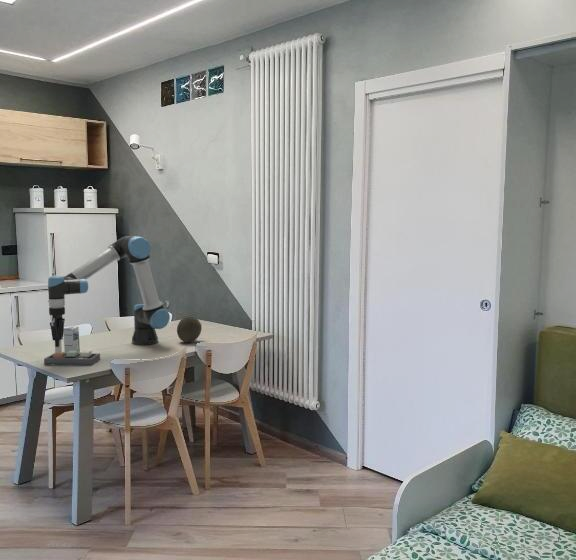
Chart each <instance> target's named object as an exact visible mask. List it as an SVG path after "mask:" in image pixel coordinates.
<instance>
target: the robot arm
mask: <svg viewBox="0 0 576 560" xmlns="http://www.w3.org/2000/svg"><path fill="white" fill-rule="evenodd" d="M151 251H152V247H151V244H150V242H149V241H148V239H147V238H145V237H142V236H140V235H136V236H135V235H125V236H123V237H120V238H119V239H117V240H116V241H114V242H113V243H112V244H110V245H108V247H107V249H105V250H104V251H102V252H101V253H99V254H98V255H96V256H95V257H93V258H92V259H91V258H90V260H88V261H86V262H85V263H84V264H83V265H81V266H79V267H77V268H76V269H74V270H73V271H71V272H70V273H68V274H66V275H65V276H64V275H63V276H61V275H58V276H56V275H55V276H49V277H48V281H47V288H48V289H47V290H48V301H47V302H48V314H49V316H51V322H49V327H50V331H51V338H52V341H54V353H61V352H63V351H62V340H64V333H63V332H64V328H65V320H66V319H65V318H63V315H64V316H65V314H66V307H65V305H66V301H65V299H66V296H65V295H75V294H76V295H77V294H86V293H88V290H89V282H88V280H87V279H90V278H91V277H93V276H94V275H96V274H97V273H98V272H101V271H102V270H104V268H106V267H108V266H109V265H111V264H112V263H114V262H115V261H120V260H121V259H124V258H127V259H128V263H129V264H130V265H132V266H133V267H132V268H133V269H134V270H133V271H134V274H135V277H136V278H135V279H136V281H137V285H138V288H139V290H140V291H139V292H140V295H141V298H142V302H143V303H140V304H139V303H137V304H135V305H134V306H133V316H134V319H133V320H134V323H133V324H134V330H133V335H132V337H131V344H133V345H138V346H147V345H154V344H157V343H159V337H158V334H157V331H156V330H161V329H164V328H166V327H167V326H168V325H169V322H170V319H171V316H170V312H169V311H168V310H167V309H165V307H164V303H163V302H162V301H160V298H159V296H158V292H157V287H156V285H155V281H154V278H153V273H152V270H151V266H150V262H149V260H150V259H151V256H150V252H151Z"/></svg>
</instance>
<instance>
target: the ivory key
mask: <svg viewBox="0 0 576 560" xmlns="http://www.w3.org/2000/svg"><path fill="white" fill-rule="evenodd" d="M79 353H80V357H89V356H91V355H92V353H93V352H92V350H82V351H80V352H79Z"/></svg>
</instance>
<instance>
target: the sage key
mask: <svg viewBox="0 0 576 560" xmlns="http://www.w3.org/2000/svg"><path fill="white" fill-rule="evenodd" d="M77 355H78V351H68V352H67V353H66V356H67V357H75V356H77Z"/></svg>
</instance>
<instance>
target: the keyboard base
mask: <svg viewBox="0 0 576 560" xmlns="http://www.w3.org/2000/svg"><path fill="white" fill-rule="evenodd" d="M53 354H54V353H52V354H50V355H49V356H46V357H45V358H44V359H43V363H44V364H55V365H54V366H93V365H94V364H96V363H97V362H99V361H100V360H101V353H93V352H92V355H91V356H89V357H80V352H79V353H78V355H77V356H75V357H67V356H66V353H65V356H64V357H62V358H53ZM98 360H99V361H98ZM95 362H96V363H95Z"/></svg>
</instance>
